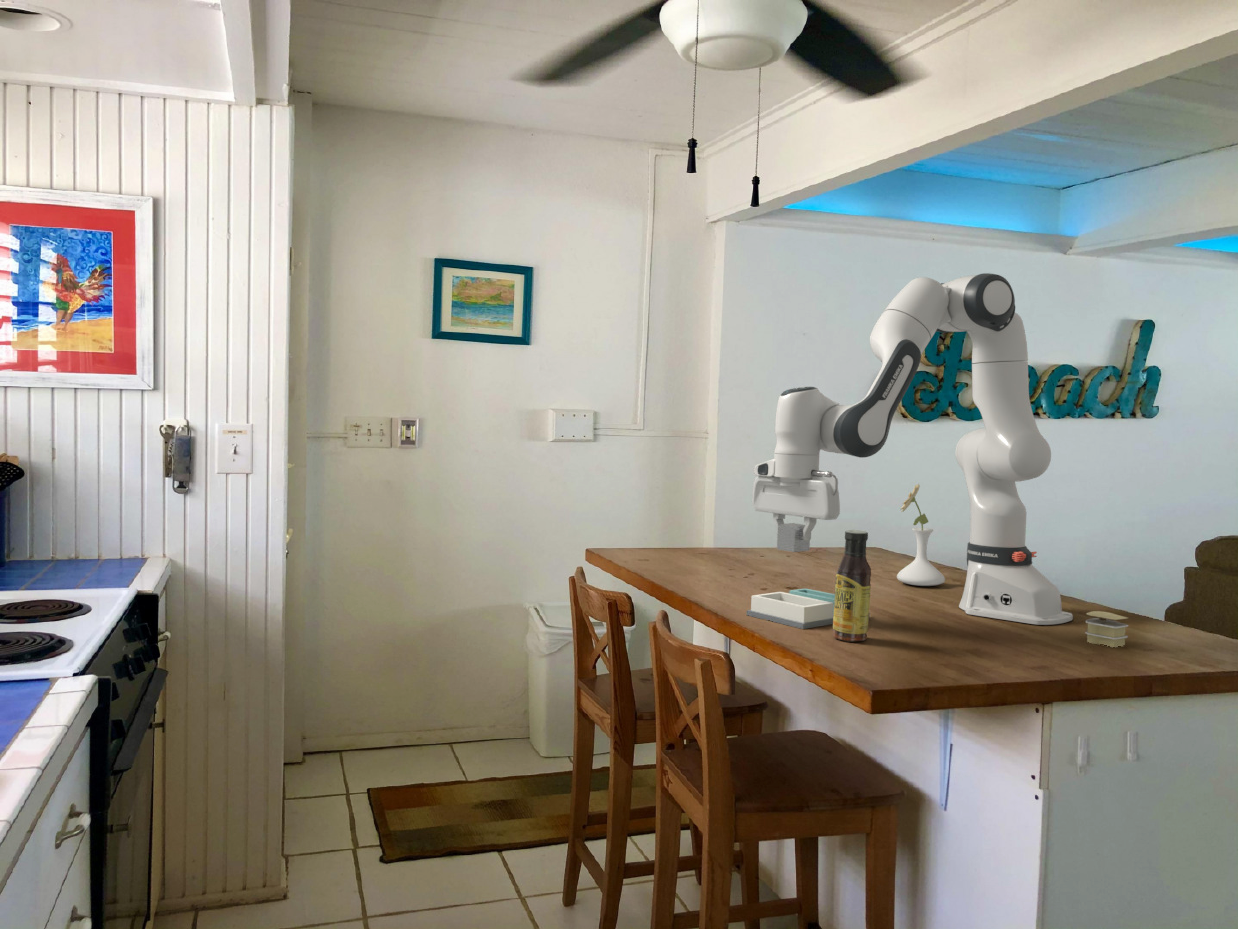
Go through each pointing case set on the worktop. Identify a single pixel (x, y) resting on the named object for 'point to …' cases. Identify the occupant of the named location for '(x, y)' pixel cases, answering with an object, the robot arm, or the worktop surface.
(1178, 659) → the worktop surface
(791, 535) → the steel block
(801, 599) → the holder
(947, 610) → the worktop surface
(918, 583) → the flower in vase
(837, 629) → the sauce bottle
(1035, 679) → the worktop surface
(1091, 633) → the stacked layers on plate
